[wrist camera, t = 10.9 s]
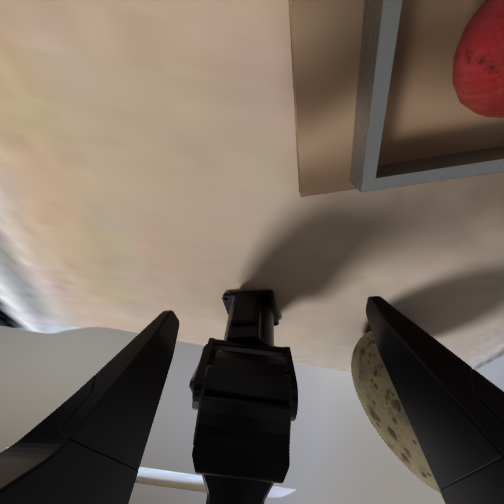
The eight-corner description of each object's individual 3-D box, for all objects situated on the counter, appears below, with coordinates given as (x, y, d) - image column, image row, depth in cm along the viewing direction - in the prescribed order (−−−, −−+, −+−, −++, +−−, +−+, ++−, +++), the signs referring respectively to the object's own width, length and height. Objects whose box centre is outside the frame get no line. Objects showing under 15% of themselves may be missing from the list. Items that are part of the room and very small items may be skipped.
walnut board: (579, 148, 15) (606, 151, 14) (299, 190, 18) (301, 196, 17) (859, -288, 7) (976, -364, 6) (284, -80, 11) (286, -105, 9)
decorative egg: (387, 359, 33) (456, 510, 21) (325, 343, 31) (361, 495, 19) (444, 320, 27) (590, 502, 15) (371, 298, 25) (466, 478, 13)
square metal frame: (546, 150, 14) (592, 158, 12) (349, 180, 16) (361, 192, 14) (771, -250, 7) (973, -392, 5) (373, -108, 9) (403, -169, 7)
